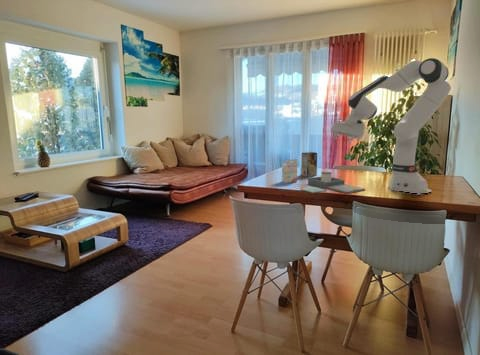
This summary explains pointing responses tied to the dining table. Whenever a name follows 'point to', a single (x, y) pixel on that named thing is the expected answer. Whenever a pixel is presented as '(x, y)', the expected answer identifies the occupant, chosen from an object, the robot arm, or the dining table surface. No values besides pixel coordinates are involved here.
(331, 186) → the equipment case
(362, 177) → the dining table surface
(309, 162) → the coffee box
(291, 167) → the ink cartridge box
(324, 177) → the block
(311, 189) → the pad
